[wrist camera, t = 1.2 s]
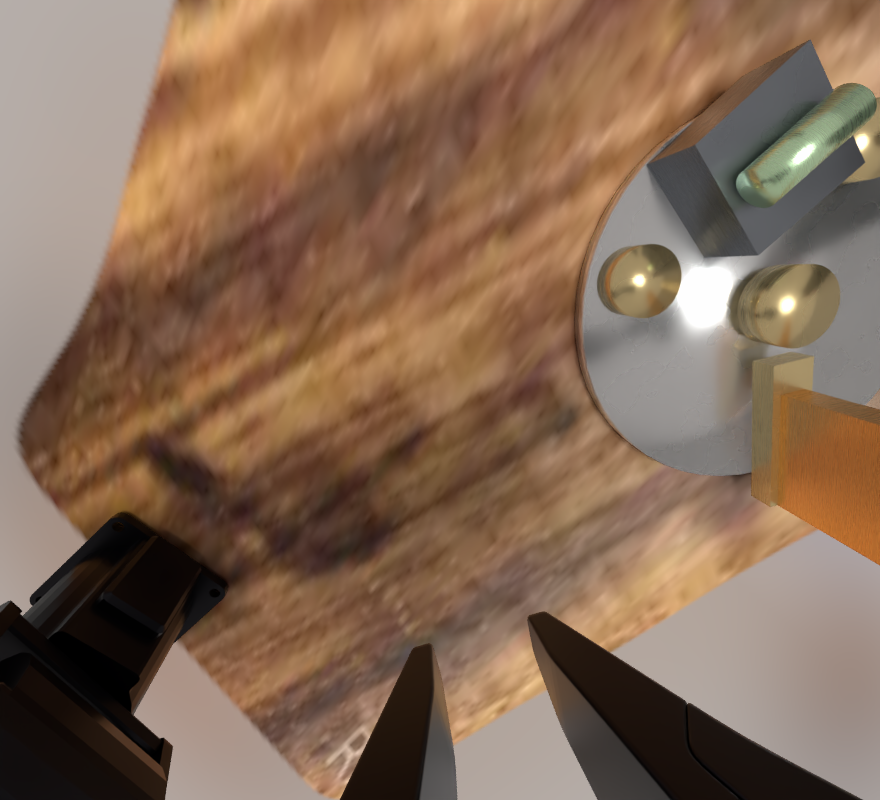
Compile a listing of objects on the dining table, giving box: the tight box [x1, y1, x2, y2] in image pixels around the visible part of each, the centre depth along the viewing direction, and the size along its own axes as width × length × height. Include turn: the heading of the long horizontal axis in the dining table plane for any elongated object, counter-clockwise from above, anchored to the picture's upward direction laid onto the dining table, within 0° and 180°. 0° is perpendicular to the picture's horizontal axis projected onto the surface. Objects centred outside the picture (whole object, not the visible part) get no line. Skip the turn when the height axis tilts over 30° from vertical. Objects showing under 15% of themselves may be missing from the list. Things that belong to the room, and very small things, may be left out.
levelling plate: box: [575, 40, 880, 476], centre depth 19 cm, size 18×18×6 cm
